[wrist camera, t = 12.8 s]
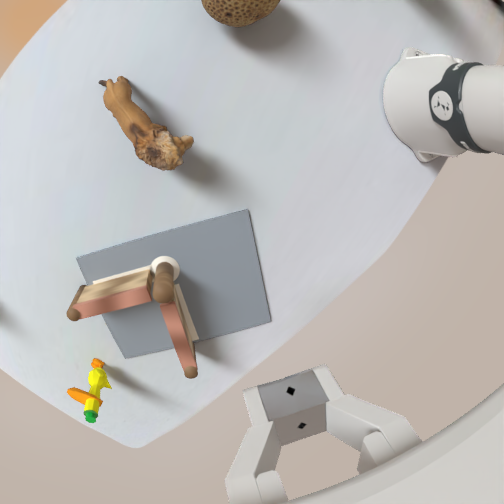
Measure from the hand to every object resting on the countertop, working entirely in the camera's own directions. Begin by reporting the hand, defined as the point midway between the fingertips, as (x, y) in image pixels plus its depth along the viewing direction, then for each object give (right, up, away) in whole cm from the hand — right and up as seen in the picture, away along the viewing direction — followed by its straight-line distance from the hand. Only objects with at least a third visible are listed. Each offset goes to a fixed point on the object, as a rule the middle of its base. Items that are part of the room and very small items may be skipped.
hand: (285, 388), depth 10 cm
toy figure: (-27, -13, +34) cm, 45 cm away
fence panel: (-12, -5, +33) cm, 35 cm away
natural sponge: (-4, +35, +19) cm, 40 cm away
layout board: (-12, -1, +32) cm, 34 cm away
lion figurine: (-14, +21, +23) cm, 34 cm away
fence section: (-19, +1, +30) cm, 35 cm away
